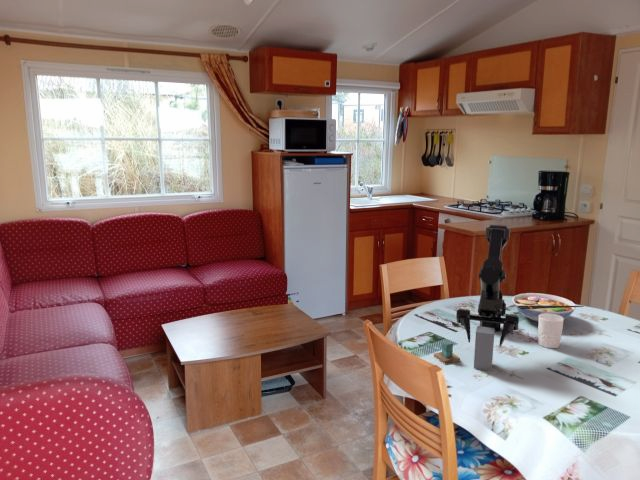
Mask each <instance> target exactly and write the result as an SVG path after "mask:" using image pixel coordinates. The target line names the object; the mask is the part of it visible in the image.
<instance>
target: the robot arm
mask: <svg viewBox="0 0 640 480" xmlns="http://www.w3.org/2000/svg"><path fill="white" fill-rule="evenodd" d="M510 235H511V228H508V226H507V225H505V224H504V225H500V224H490V225H489V226H488V227H485V238H487V239H486V240H487V243H488V251H487V253H488V254H487V258H486V259H485V260H484V261H483V263H482V267H480V269H479V273H478V279H479V280H480V288H481V289H480V298H479V303H478V307H477V314H475V313H471V310H470V309H467V308H466V309H465V308H458V309H456V314H455V316H456V322H457V323H458V324H460V326H462V327H464V331H465V333H466V335H467V336H466V337H467V340H468V341H467V342H468V343H471V321H477V322H479V325H478V326H482V327H489V328H495V332H501V335H500V338H499V348H501V347H502V345H503V343H504V342H505V340H506V339H507V336H509V334H510V333H514V331H518V330H519V322H520V317H519V316H518V315H516V314H509V313H507V314H506V309H507V304H506V301H505V299H503V297H504V296H503V293H502V291H501V289H500V284H501V283H502V282H504V281H505V280H506V278H507V273H506V271H505V270H504V269H503V264H504V263H503V262H502V258H503V257H502V255H503V249H504V248H505V247H506V245H507V244H508V239H509V240H510ZM504 316H505V317H504ZM501 325H502V327H501Z"/></svg>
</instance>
